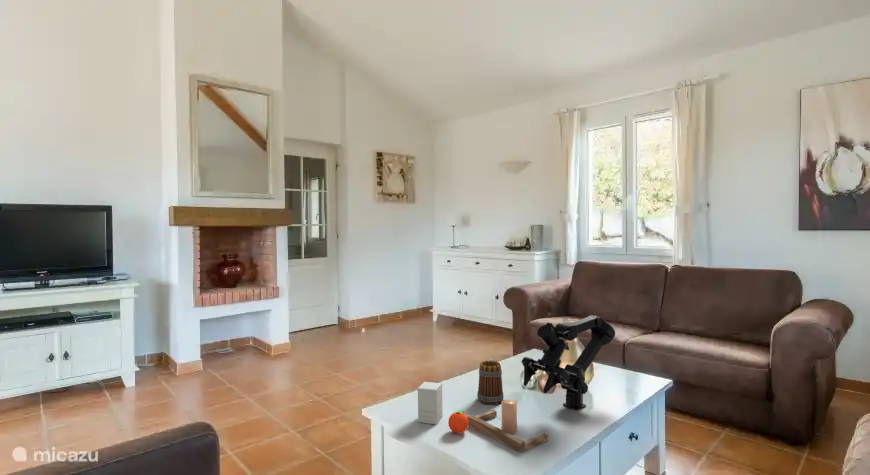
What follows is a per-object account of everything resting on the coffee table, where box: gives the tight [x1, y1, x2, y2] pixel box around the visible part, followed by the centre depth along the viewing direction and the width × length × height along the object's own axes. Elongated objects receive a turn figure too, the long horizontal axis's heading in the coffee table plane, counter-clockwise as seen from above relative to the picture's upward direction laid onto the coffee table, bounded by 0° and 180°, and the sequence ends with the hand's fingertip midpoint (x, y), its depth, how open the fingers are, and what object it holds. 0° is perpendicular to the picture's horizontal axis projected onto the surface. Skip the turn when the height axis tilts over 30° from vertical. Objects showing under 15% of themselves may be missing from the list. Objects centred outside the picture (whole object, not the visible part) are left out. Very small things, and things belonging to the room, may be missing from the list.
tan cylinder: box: [501, 399, 518, 435], centre depth 161 cm, size 5×5×10 cm
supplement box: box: [417, 381, 444, 425], centre depth 170 cm, size 7×7×13 cm
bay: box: [466, 409, 549, 453], centre depth 160 cm, size 13×26×3 cm, turn 36°
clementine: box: [448, 410, 469, 434], centre depth 160 cm, size 8×7×7 cm
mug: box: [477, 357, 504, 406], centre depth 191 cm, size 16×11×15 cm
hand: (534, 389), depth 168 cm, fingers open, 9 cm apart
